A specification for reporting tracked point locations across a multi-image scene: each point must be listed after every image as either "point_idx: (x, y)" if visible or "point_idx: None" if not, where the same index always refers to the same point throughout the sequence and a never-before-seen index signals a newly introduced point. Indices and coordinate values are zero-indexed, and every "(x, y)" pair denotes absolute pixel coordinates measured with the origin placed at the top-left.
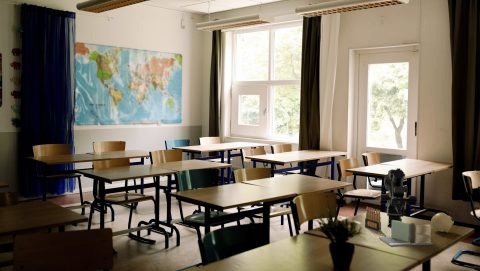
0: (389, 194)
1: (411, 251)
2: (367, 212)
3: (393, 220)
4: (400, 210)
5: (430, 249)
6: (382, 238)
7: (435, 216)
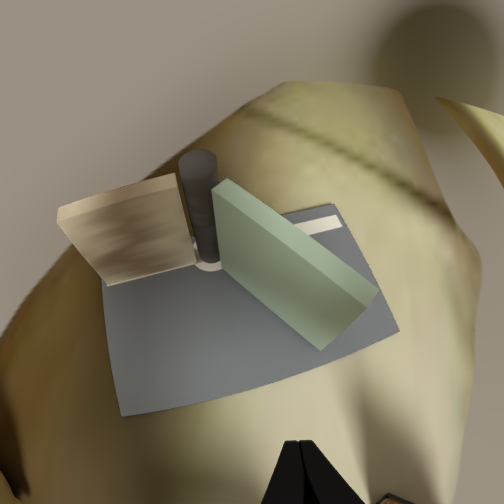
0: None
1: (244, 161)
2: None
3: (362, 282)
4: (279, 464)
5: None
6: (380, 314)
7: None
